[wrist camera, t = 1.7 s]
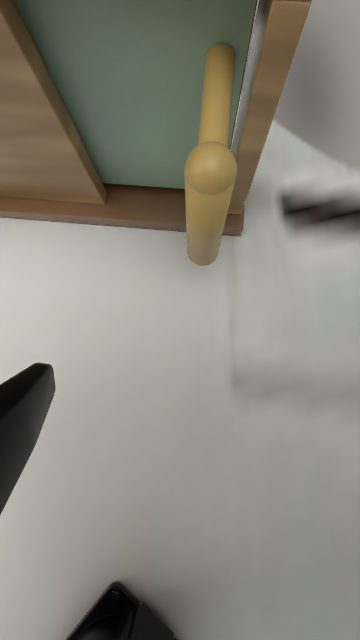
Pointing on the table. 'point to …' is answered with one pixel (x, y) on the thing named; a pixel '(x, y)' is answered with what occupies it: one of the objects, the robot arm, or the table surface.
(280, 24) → the door frame
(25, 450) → the robot arm
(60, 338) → the table surface
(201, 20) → the door
